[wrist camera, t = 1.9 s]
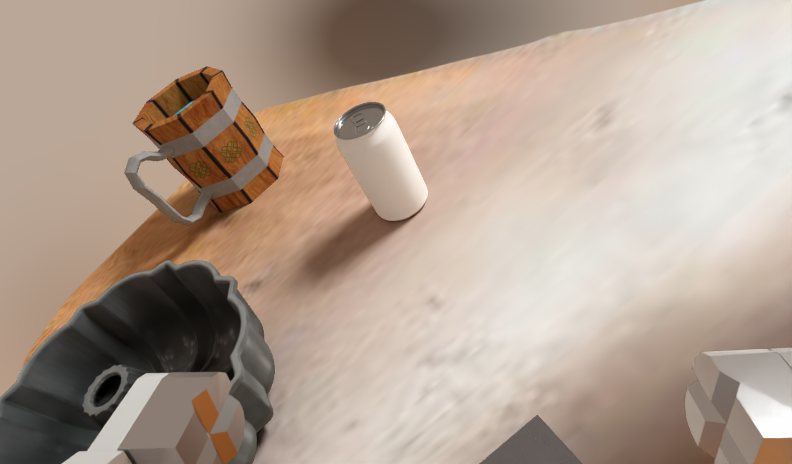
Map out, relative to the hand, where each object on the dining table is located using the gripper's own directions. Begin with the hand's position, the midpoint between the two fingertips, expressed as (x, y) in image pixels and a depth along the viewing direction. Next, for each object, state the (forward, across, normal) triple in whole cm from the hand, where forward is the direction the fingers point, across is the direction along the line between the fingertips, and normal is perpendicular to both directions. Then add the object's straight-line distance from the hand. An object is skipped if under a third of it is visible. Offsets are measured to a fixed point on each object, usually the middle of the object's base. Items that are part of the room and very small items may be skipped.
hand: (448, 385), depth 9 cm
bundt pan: (+22, +27, +30) cm, 46 cm away
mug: (+56, +32, +21) cm, 68 cm away
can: (+43, +6, +19) cm, 48 cm away
